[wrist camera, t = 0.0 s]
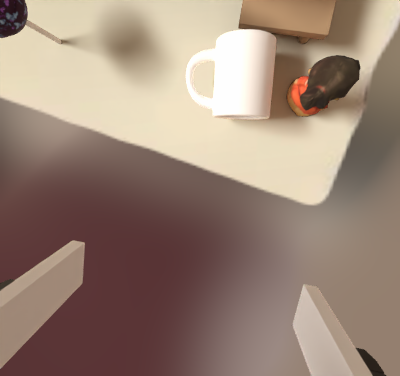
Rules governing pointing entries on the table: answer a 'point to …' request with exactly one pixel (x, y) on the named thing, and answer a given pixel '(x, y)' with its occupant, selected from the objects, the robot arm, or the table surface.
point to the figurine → (323, 84)
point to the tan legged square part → (289, 17)
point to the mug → (238, 75)
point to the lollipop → (17, 19)
